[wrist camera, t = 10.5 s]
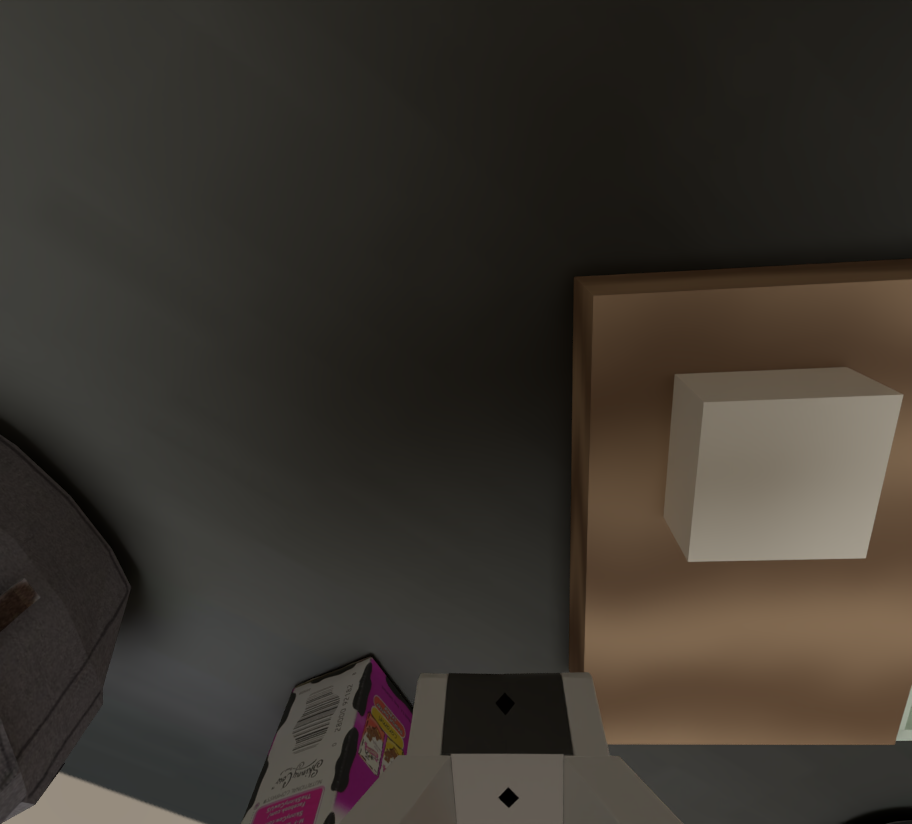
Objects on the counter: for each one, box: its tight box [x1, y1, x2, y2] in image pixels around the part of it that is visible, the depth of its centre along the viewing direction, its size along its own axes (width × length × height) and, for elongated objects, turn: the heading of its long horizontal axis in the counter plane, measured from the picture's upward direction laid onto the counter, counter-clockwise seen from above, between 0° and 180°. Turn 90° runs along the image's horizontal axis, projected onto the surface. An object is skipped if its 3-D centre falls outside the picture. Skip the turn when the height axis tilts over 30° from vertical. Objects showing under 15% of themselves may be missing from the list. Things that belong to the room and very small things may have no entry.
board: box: [569, 259, 912, 745], centre depth 21 cm, size 18×12×4 cm, turn 3°
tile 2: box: [663, 367, 903, 562], centre depth 17 cm, size 5×5×2 cm
